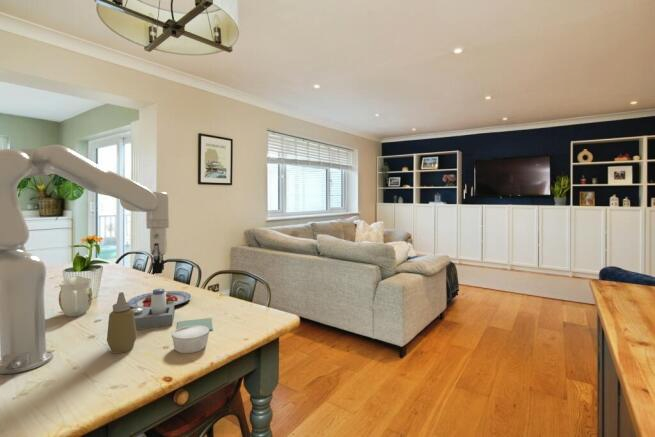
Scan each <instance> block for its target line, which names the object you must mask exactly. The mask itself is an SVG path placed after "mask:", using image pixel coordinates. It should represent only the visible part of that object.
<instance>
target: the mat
mask: <svg viewBox="0 0 655 437" xmlns="http://www.w3.org/2000/svg"><path fill="white" fill-rule="evenodd" d="M193 325H201V326H206V327H208V328H209V332H210V331H214V330H213V329H214V328H213V319H212V317H208V318H198V319H189V320H178V322H177V327H176V330H177V329H179V328H182V327H186V326H193Z"/></svg>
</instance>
